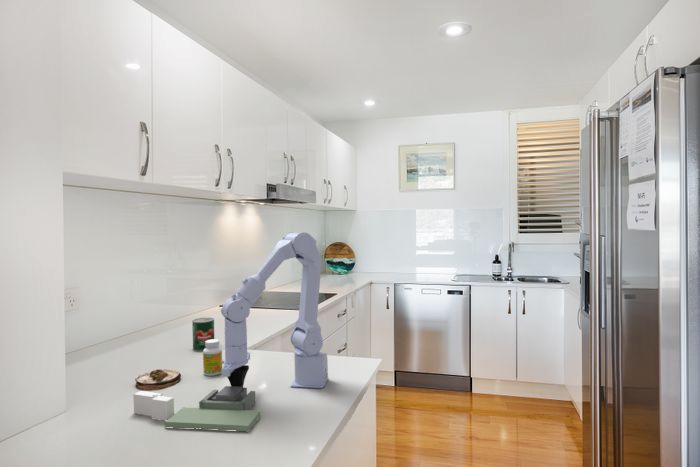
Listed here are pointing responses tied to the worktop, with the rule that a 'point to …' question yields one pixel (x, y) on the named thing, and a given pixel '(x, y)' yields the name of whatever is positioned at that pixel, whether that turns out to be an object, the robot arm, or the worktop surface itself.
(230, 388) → the dark grey block
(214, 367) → the supplement bottle
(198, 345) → the canned tomato
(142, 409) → the white stepped block
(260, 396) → the worktop surface
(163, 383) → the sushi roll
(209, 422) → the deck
